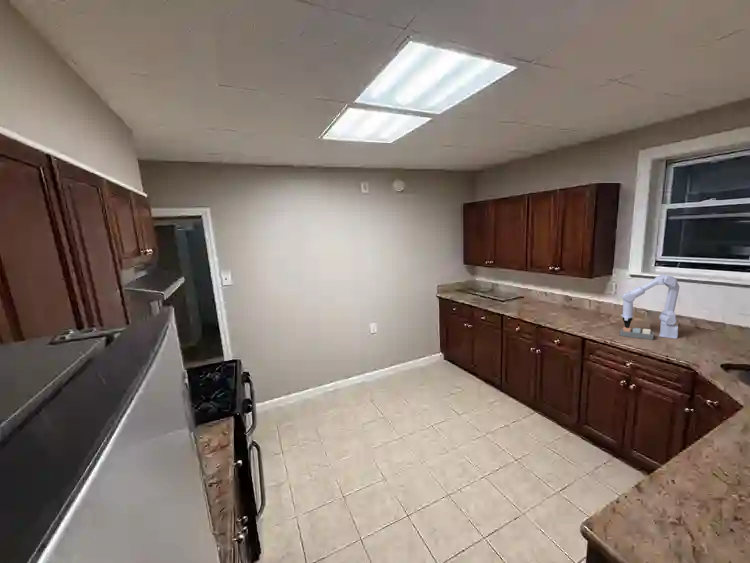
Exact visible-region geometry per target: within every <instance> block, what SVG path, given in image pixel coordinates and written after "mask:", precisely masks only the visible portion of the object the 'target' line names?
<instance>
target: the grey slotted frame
mask: <svg viewBox="0 0 750 563" xmlns="http://www.w3.org/2000/svg"><path fill="white" fill-rule="evenodd" d="M623 328H624V327H623ZM623 328H621V329H620V330H619V337H625V338H634V339H640V340H650V341H653V340H654V337H655V331H651V334H643V333H642V332H643V329H641V333H635V332H633V328H631V332H627V331H623Z"/></svg>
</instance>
